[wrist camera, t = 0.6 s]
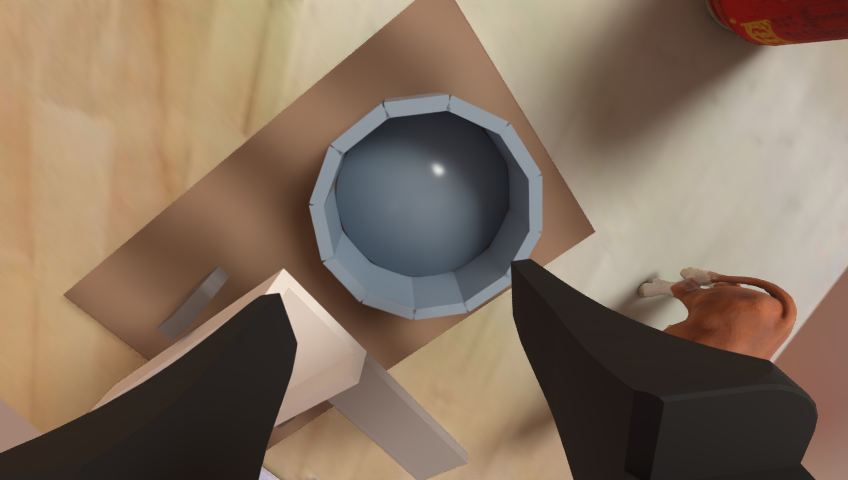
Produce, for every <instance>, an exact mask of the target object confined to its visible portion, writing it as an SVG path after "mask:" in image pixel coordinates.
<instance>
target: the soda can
mask: <svg viewBox="0 0 848 480" xmlns="http://www.w3.org/2000/svg"><path fill="white" fill-rule="evenodd" d="M705 3H706V6H707V8H708V10H709V12H710V14H711V15H712V17H713V19H715V20H716V21H717V22H718V23H719V24H720V25H721V26H722V27H724V28H725V29H728V30H731V31H732V32H734V33H735V34H737V35H739V36H740V37H742V38H743V39H745V40H747V41H750V42H753V43H756V44H760V45H772V46H778V45H788V44H800V43H810V42H821V41H831V40H842V39H848V0H705Z"/></svg>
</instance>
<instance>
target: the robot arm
mask: <svg viewBox="0 0 848 480" xmlns="http://www.w3.org/2000/svg"><path fill="white" fill-rule="evenodd" d="M510 262H511V284H512V307H513V317H514V321H515V324H516V328H517V331H518V334H519V338H520V341H521V344H522V346H523V348H524V351H525V353H526V355H527V358H528V360H529V362H530V364H531V367H532V369H533V371H534V373H535V376H536V378H537V380H538V382H539V384H540V387H541V389H542V391H543V393H544V396H545V398H546V400H547V402H548V405H549V407H550V410H551V412H552V415H553V417H554V420H555V423H556V426H557V429H558V432H559V435H560V438H561V441H562V444H563V447H564V450H565V454H566V457H567V460H568V463H569V466H570V470H571V473H572V476H573V479H574V480H815V479H814V477H812V475H811V474H810V473H809V472H808V471H807V470H806V469H805V468H804V467H803V466H802V465H801V461H802V458H803V456H804V454H805V452H806V450H807V447H808V445H809V443H810V440H811V438H812V435H813V433H814V431H815V427H816V422H817V417H818V414H817V409H816V404H815V402H814V401H813V400H812V399H811V397H810V396H809V395H808V394H807V393H806V392H805V391H804V390H803V389H802V388H801V387H799V386H798V385H797V384H796V383H795V382H794V381H792V380H791V379H790V378H789V377H788V376H787V375H786V374H784V372H782V371H781V370H780V369H779V368H778V367H777V366H776V365H774V364H773V363H772V362H771V361H769V360H766V359H762V358H758V357H753V356H749V355H744V354H740V353H736V352H731V351H727V350H722V349H718V348H714V347H711V346H707V345H704V344H700V343H697V342H694V341H690V340H687V339H684V338H681V337H677V336H674V335H671V334H668V333H666V332H663V331H660V330H658V329H655V328H652V327H650V326H647V325H644V324H642V323H639V322H637V321H635V320H632V319H630V318H628V317H626V316H624V315H622V314H619V313H617V312H615V311H613V310H611V309H609V308H607V307H605V306H603V305H601V304H599V303H598V302H596V301H594V300H592V299H591V298H589V297H587V296H585V295H584V294H582V293H580V292H579V291H577V290H576V289H574V288H572V287H571V286H569V285H568V284H566V283H565V282H563V281H562V280H560V279H559V278H557V277H556V276H554V275H553V274H552V273H550V272H549V271H547V270H546V269H545V268H543V267H542V266H540V265H539V264H538V263H536V262H535V261H533V260H532V259H523V260H516V261H510ZM297 345H298V343H297V340H296V337H295V334H294V332H293V329H292V326H291V323H290V320H289V317H288V315H287V312H286V309H285V306H284V303H283V300H282V298H281V295H280V293H273V294H266V295H260V296H259V297H257V298H256V299H254V300H253V301H252V302H250V303H249V304H248V305H246V306H245V307H244V308H243V309H241V310H240V311H239V312H238V313H236V314H235V315H234V316H233V317H232V318H230V319H229V320H228V321H227V322H225V323H224V324H223V325H222V326H220V327H219V328H218V329H217V330H216V331H214V332H213V333H212V334H211V335H209V336H208V337H207V338H205V339H204V340H203V341H201V342H200V343H199V344H197V345H196V346H195V347H194V348H192V349H191V350H190V351H188V352H187V353H186V354H184V355H183V356H182V357H180V358H179V359H177V360H176V361H175V362H173V363H172V364H170V365H169V366H167V367H166V368H164V369H163V370H161V371H160V372H158V373H157V374H155V375H154V376H152V377H150V378H149V379H147V380H146V381H144V382H143V383H141V384H139V385H138V386H136V387H134V388H132V389H131V390H129V391H127V392H125V393H124V394H122V395H120V396H118V397H116V398H115V399H113V400H111V401H109V402H108V403H106V404H104V405H102V406H101V407H99V408H97V409H95V410H93V411H91V412H89V413H87V414H85V415H83V416H81V417H79V418H77V419H75V420H73V421H71V422H69V423H67V424H65V425H63V426H61V427H59V428H56V429H54V430H52V431H50V432H48V433H46V434H44V435H41V436H39V437H37V438H35V439H32V440H30V441H27V442H25V443H23V444H21V445H18V446H16V447H13V448H11V449H9V450H7V451H4V452H2V453H0V480H279V479H278V478H277V477H275V476H274V475H273V474H271V473H270V472H269V471H267V470H266V469H265V468H263V467H262V464H263V460H264V456H265V452H266V449H267V445H268V442H269V439H270V436H271V433H272V430H273V427H274V425H275V422H276V419H277V416H278V413H279V410H280V407H281V405H282V402H283V399H284V396H285V393H286V390H287V387H288V384H289V381H290V378H291V375H292V372H293V367H294V362H295V357H296V351H297Z"/></svg>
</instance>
